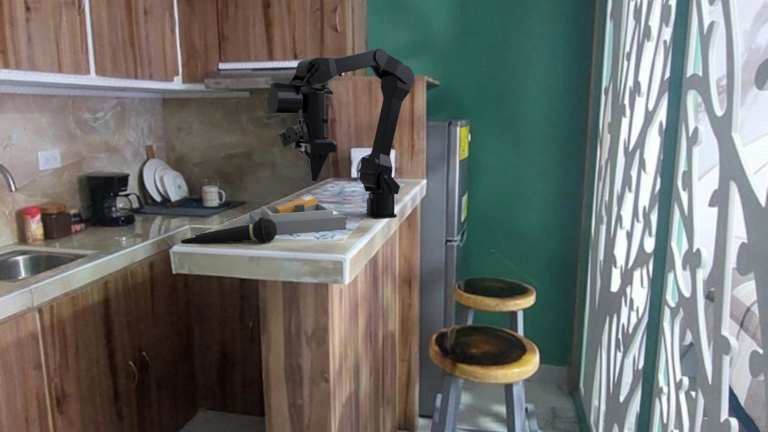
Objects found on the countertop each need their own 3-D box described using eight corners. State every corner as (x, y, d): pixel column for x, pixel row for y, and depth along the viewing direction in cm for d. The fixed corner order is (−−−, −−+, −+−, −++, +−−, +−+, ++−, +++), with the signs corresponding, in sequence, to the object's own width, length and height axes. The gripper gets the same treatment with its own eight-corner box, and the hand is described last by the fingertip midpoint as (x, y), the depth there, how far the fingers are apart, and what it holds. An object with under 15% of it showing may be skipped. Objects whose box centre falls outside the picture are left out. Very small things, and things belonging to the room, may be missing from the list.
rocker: (312, 200, 128) (310, 194, 127) (317, 203, 123) (315, 197, 123) (277, 212, 125) (275, 206, 124) (281, 215, 120) (279, 209, 120)
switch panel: (328, 218, 135) (328, 196, 134) (345, 229, 122) (345, 205, 121) (250, 224, 127) (248, 200, 126) (259, 236, 115) (258, 210, 113)
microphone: (182, 260, 108) (278, 246, 109) (174, 236, 105) (273, 223, 106) (187, 246, 112) (280, 233, 113) (180, 223, 110) (275, 210, 111)
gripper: (270, 114, 127) (272, 177, 130) (287, 114, 110) (289, 187, 113) (315, 114, 131) (316, 176, 134) (337, 114, 114) (338, 185, 117)
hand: (314, 180), depth 124 cm, fingers closed
